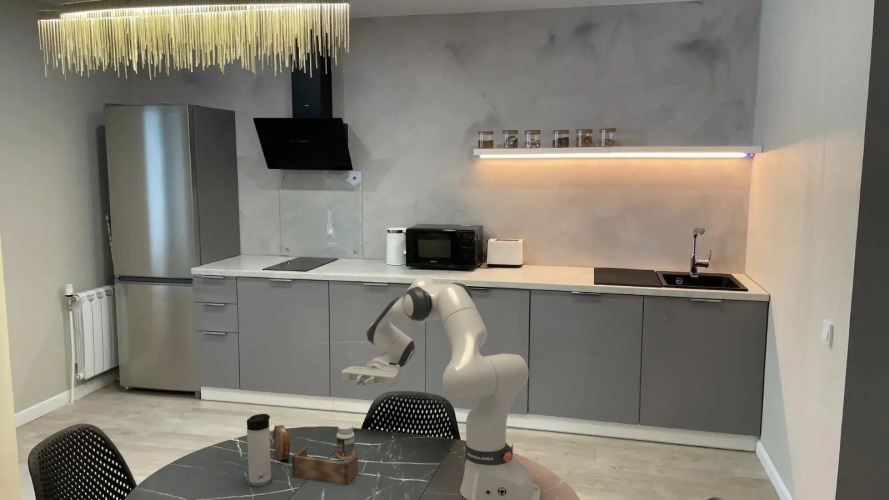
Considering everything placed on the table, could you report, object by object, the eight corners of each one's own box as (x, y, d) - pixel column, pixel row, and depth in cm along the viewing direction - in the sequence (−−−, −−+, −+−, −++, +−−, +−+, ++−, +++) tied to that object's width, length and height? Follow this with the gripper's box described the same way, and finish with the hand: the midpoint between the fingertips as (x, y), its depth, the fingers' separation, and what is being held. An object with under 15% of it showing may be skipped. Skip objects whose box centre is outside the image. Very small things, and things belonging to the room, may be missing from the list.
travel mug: (266, 487, 182) (263, 420, 180) (244, 485, 183) (242, 418, 181) (276, 477, 188) (273, 412, 186) (255, 475, 189) (253, 410, 187)
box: (358, 473, 190) (357, 454, 190) (347, 484, 184) (347, 464, 183) (304, 465, 196) (304, 446, 195) (292, 475, 189) (292, 456, 188)
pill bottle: (333, 455, 203) (332, 425, 202) (349, 450, 207) (348, 421, 205) (342, 461, 199) (341, 431, 197) (358, 456, 202) (357, 426, 201)
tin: (273, 446, 210) (272, 421, 209) (282, 444, 211) (281, 420, 210) (281, 465, 196) (280, 438, 195) (292, 463, 198) (291, 437, 197)
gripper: (350, 359, 228) (332, 371, 214) (404, 365, 221) (389, 377, 208) (351, 376, 228) (333, 389, 215) (404, 382, 222) (389, 395, 209)
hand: (361, 383), depth 212 cm, fingers closed
